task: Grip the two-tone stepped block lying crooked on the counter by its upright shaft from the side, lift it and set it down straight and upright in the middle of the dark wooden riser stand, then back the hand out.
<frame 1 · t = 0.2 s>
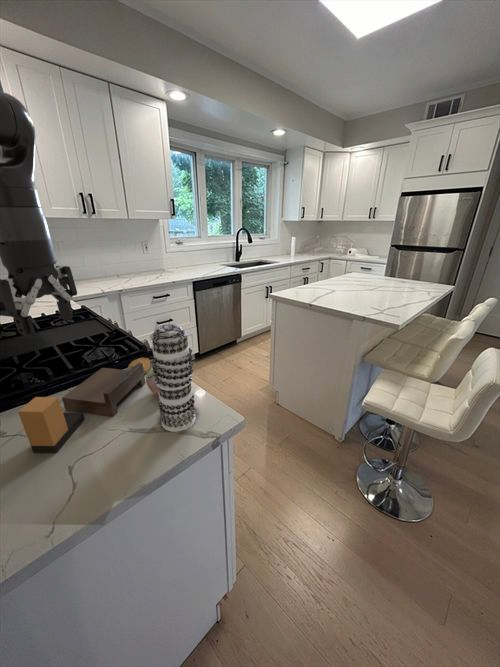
hand: (49, 326, 52), 28 cm above the countertop, tool pointing down, fingers open, 8 cm apart
decorative candle: (179, 420, 70), on the countertop
two-tone stepped block: (61, 434, 65), on the countertop
pastry: (140, 370, 93), on the countertop
decorative fruit: (163, 394, 81), on the countertop
dark wooden riser stand: (108, 395, 79), on the countertop
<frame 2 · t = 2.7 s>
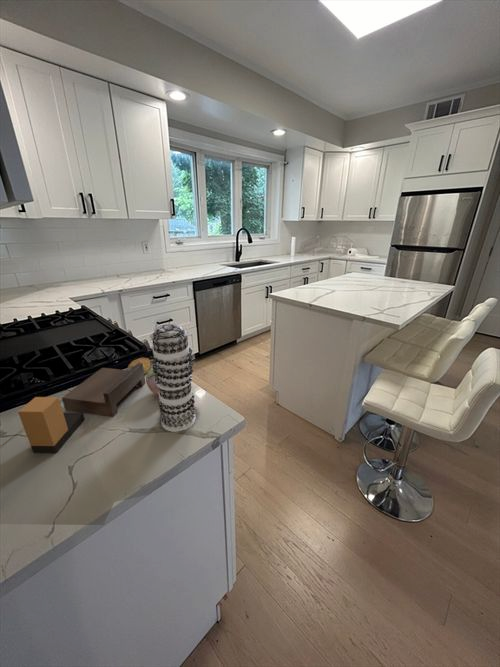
nothing on the countertop moved.
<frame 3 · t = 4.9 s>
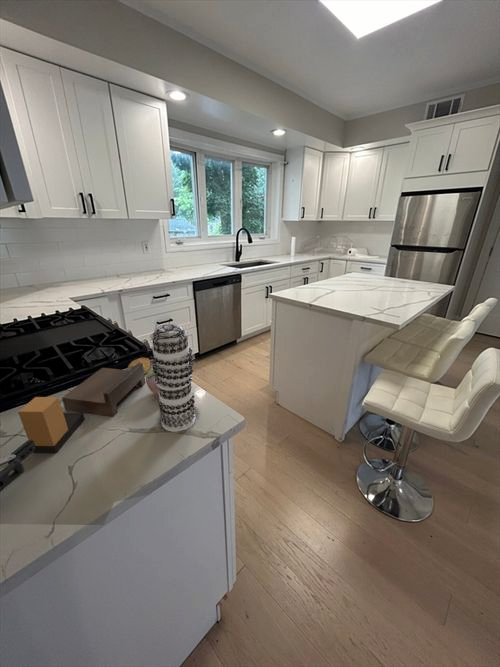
hand: (13, 440, 53), 7 cm above the countertop, tool horizontal, fingers open, 8 cm apart
nothing on the countertop moved.
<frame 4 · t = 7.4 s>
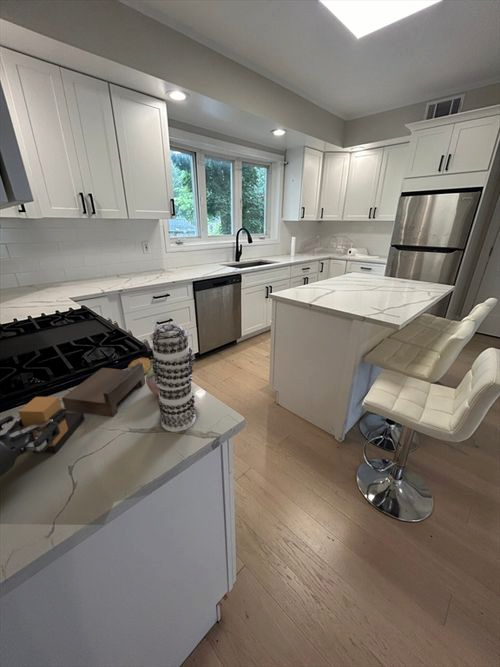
hand: (52, 410, 61), 8 cm above the countertop, tool horizontal, fingers closed on two-tone stepped block, 5 cm apart
two-tone stepped block: (61, 434, 65), on the countertop, touching gripper
everything else where it was.
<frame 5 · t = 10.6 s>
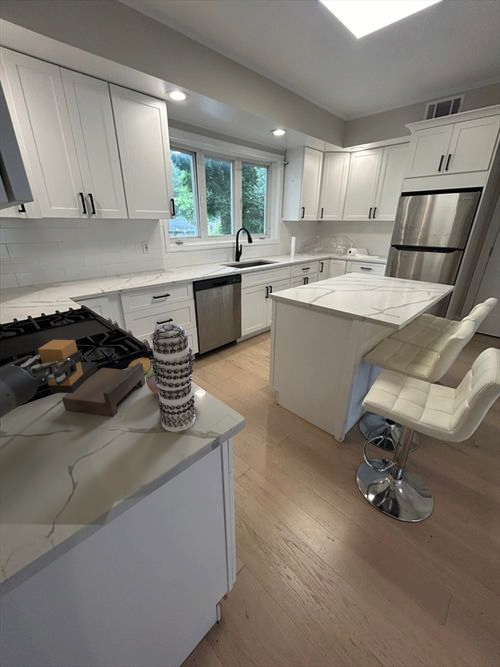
hand: (68, 353, 64), 18 cm above the countertop, tool horizontal, fingers closed on two-tone stepped block, 5 cm apart
two-tone stepped block: (76, 380, 68), point 10 cm above the countertop, touching gripper
everything else where it was.
when the fingers open (11 cm above the countertop, at t = 14.2 s): two-tone stepped block stays where it is, resting on dark wooden riser stand.
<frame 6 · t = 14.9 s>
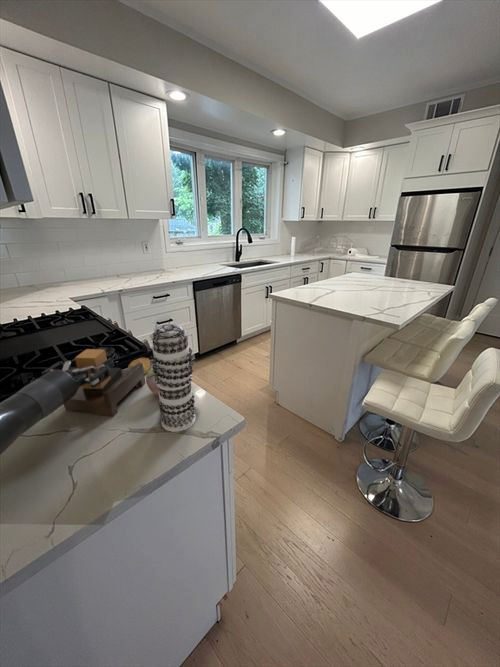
hand: (97, 359, 74), 12 cm above the countertop, tool horizontal, fingers open, 8 cm apart
two-tone stepped block: (104, 383, 78), point 4 cm above the countertop, touching dark wooden riser stand
everything else where it was.
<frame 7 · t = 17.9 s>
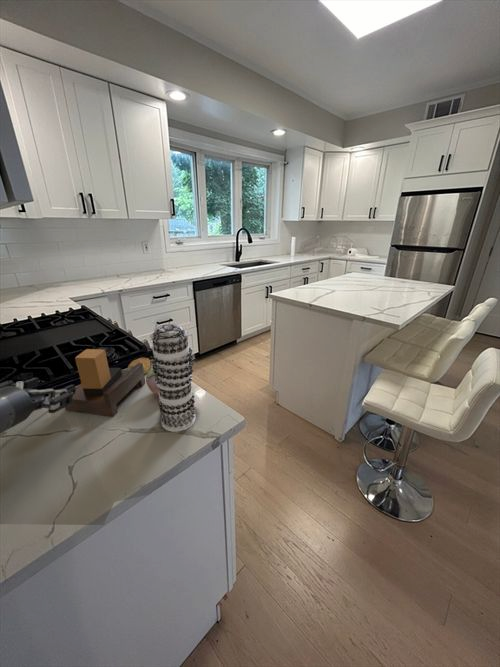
hand: (55, 385, 65), 11 cm above the countertop, tool tilted 75°, fingers open, 8 cm apart
nothing on the countertop moved.
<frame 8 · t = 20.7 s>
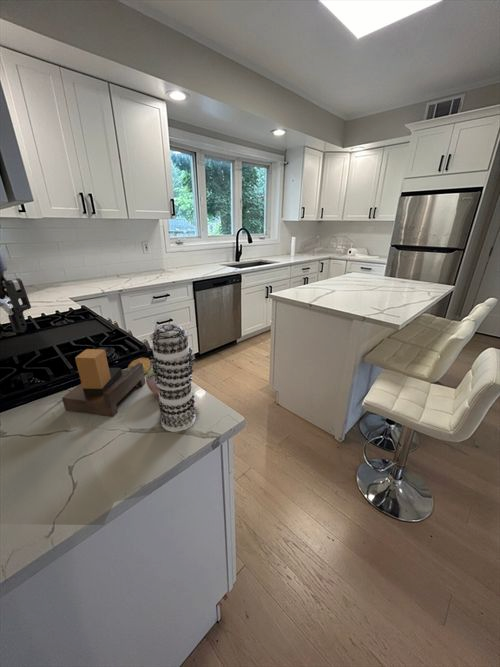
hand: (2, 329, 56), 26 cm above the countertop, tool pointing down, fingers open, 8 cm apart
nothing on the countertop moved.
at the end: two-tone stepped block inside the target area (0.5 cm from its centre), point 4.0 cm above the countertop; two-tone stepped block tilted 0°; the gripper is holding nothing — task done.
